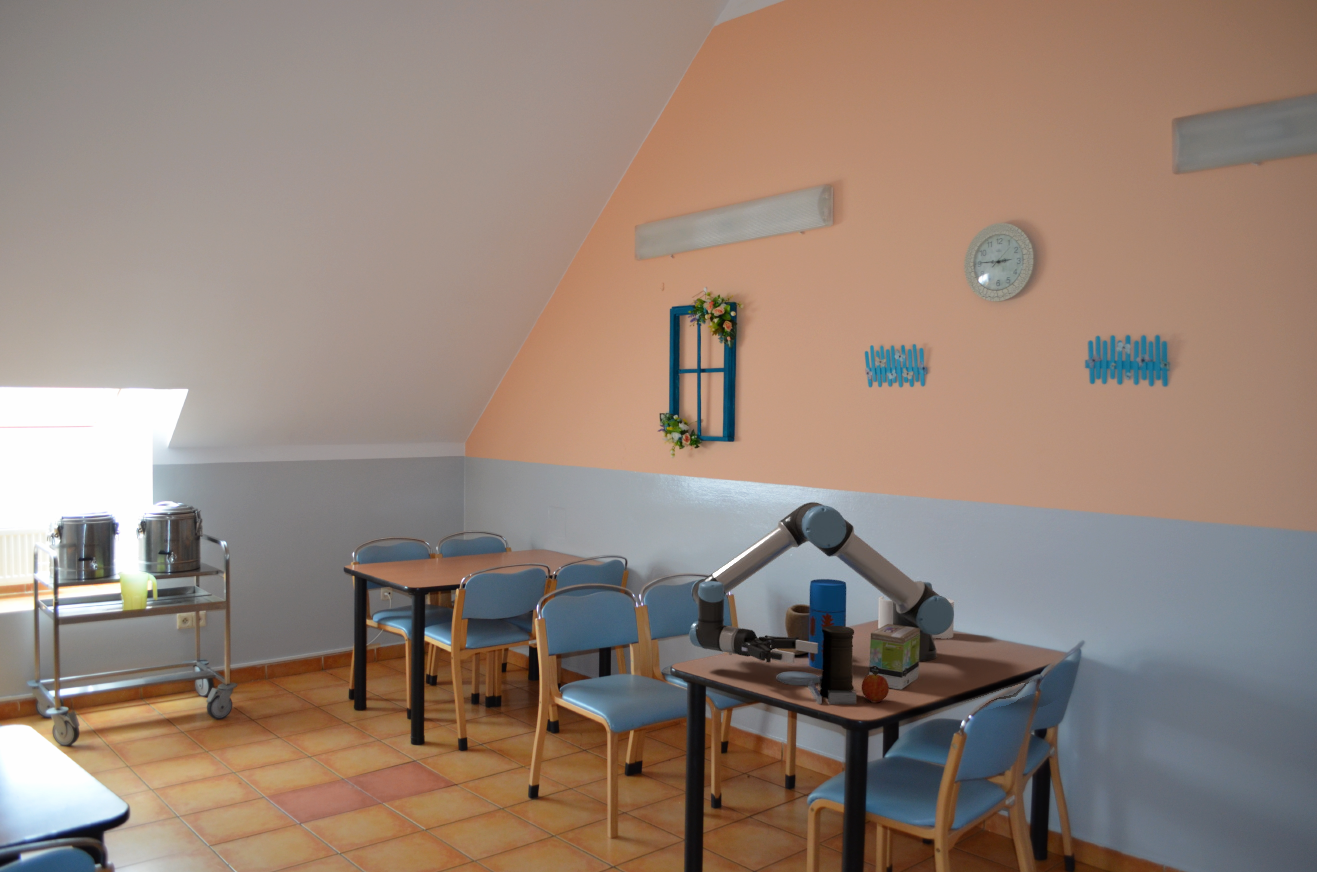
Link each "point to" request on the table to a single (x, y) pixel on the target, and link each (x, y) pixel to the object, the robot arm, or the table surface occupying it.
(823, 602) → the thermos
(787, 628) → the stone cup
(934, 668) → the table surface
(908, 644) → the tea box
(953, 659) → the table surface
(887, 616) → the bracket
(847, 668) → the container
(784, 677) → the mat
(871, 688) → the fruit
